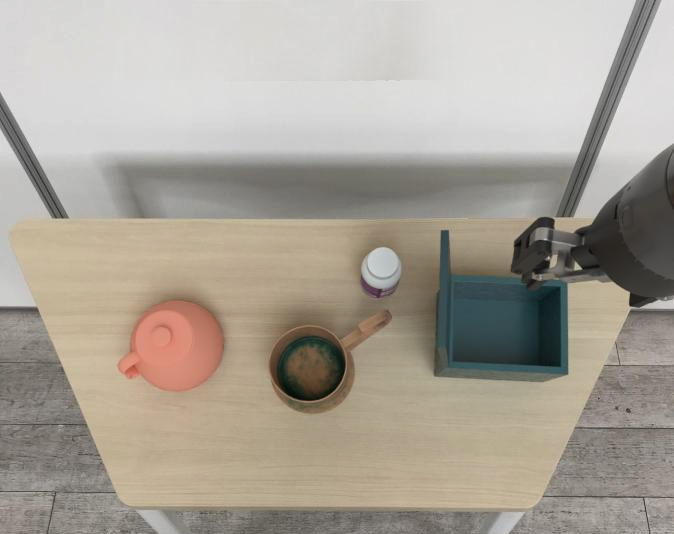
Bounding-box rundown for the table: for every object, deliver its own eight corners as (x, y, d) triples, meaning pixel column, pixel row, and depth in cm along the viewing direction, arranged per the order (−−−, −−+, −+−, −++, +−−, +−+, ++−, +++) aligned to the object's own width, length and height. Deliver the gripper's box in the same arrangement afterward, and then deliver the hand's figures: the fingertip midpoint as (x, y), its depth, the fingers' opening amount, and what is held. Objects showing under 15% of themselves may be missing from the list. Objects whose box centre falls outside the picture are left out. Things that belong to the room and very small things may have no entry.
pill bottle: (385, 307, 86) (389, 291, 76) (353, 288, 86) (353, 269, 77) (405, 275, 86) (412, 255, 77) (373, 256, 87) (375, 234, 77)
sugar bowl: (242, 364, 85) (228, 353, 75) (153, 416, 84) (126, 412, 74) (200, 290, 87) (180, 270, 76) (113, 340, 86) (81, 326, 76)
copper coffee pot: (407, 363, 84) (417, 350, 72) (297, 429, 83) (288, 428, 71) (364, 293, 86) (366, 270, 74) (255, 357, 85) (240, 344, 73)
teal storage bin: (543, 298, 85) (567, 279, 76) (543, 382, 83) (568, 374, 74) (436, 293, 86) (447, 274, 76) (434, 376, 84) (445, 368, 74)
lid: (448, 229, 60) (440, 229, 61) (446, 347, 58) (437, 347, 59) (451, 273, 75) (444, 273, 76) (449, 368, 73) (442, 367, 74)
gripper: (817, 175, 35) (671, 258, 51) (570, 138, 36) (502, 231, 52) (810, 300, 34) (663, 345, 50) (555, 259, 35) (490, 316, 51)
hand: (581, 287), depth 51 cm, fingers open, 8 cm apart
